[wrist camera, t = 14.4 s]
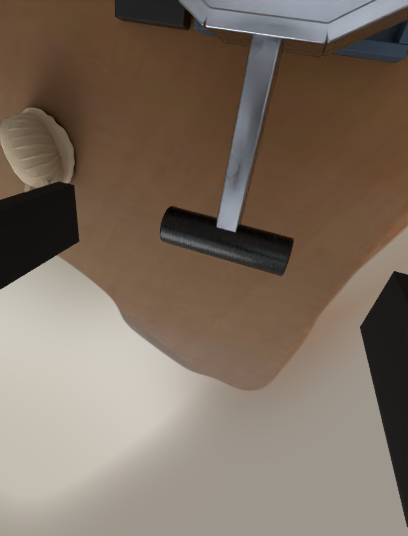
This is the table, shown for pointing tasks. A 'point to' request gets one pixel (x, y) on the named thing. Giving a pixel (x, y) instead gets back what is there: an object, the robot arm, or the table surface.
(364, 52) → the tray
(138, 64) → the table surface
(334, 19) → the grey frying pan
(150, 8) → the stand
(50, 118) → the decorative ornament
